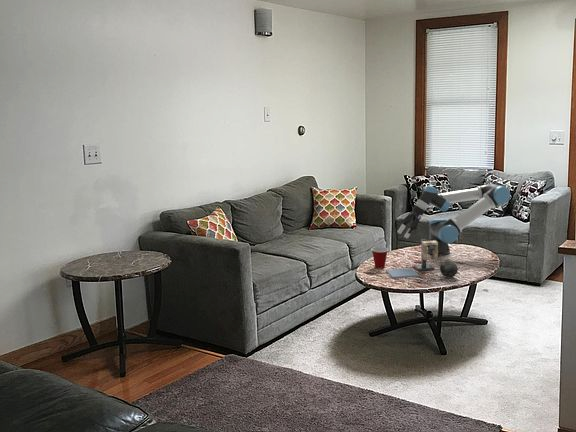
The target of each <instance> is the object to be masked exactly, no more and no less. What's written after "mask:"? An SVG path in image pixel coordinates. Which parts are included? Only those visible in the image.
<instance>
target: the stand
mask: <svg viewBox="0 0 576 432" xmlns="http://www.w3.org/2000/svg"><path fill="white" fill-rule="evenodd" d="M422 241H427V238H421V239H420V242H421V243H420V244H421V246H420V247H421V248H420V249H421V250H420V251H421V253H420V255H421V256H420V259H421V261H420V262H421V264H413V268H414V269H415V270H416V271H417V272H426V271H435V267H434V266H433V265H432V264H430V263H427V260H423V259H422ZM427 248H430V249H431V250H434V249H435V247H434V246H433V245H427Z"/></svg>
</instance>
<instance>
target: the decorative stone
mask: <svg viewBox="0 0 576 432" xmlns="http://www.w3.org/2000/svg"><path fill="white" fill-rule="evenodd" d="M439 267H440V268H439V271H440V273H441V275H442V276H443V277H445V278H454V277H455V276H456V275H457V273H458V265H457V263H456V262H455V261H453V260H445V261H443V262H442V263H441V264H440V266H439Z"/></svg>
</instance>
